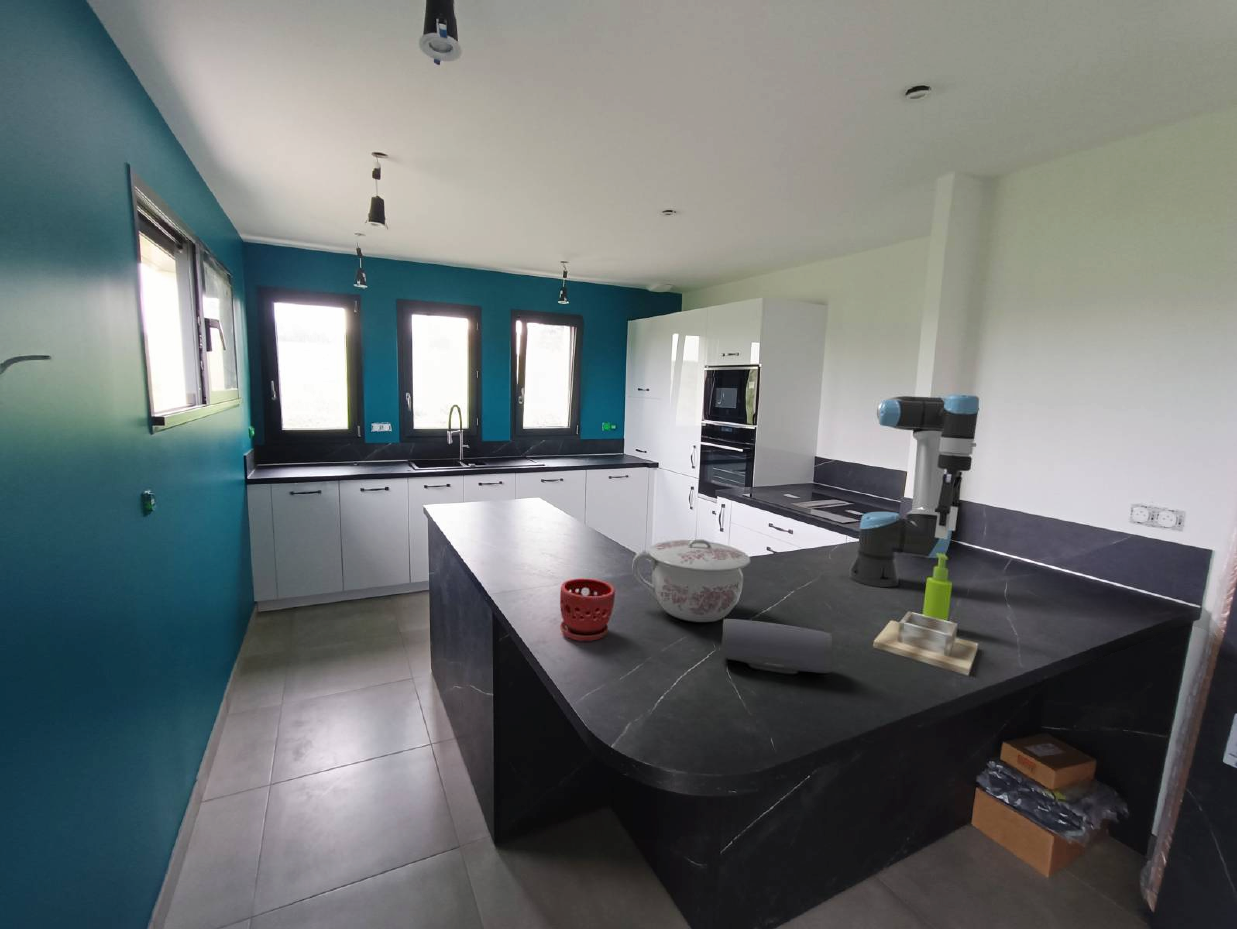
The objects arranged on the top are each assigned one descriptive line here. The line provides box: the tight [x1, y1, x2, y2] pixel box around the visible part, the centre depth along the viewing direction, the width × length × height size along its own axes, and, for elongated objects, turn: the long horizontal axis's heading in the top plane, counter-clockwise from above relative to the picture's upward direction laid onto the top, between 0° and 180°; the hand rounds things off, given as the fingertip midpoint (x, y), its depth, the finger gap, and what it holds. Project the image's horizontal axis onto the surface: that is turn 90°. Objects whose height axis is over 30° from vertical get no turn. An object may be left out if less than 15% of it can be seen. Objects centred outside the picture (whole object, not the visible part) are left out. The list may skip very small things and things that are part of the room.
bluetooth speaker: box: [720, 618, 833, 675], centre depth 122 cm, size 23×9×10 cm, turn 77°
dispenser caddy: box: [872, 611, 979, 676], centre depth 136 cm, size 20×18×6 cm
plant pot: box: [559, 578, 616, 642], centre depth 134 cm, size 13×13×12 cm
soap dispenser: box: [922, 553, 953, 621], centre depth 150 cm, size 6×7×20 cm
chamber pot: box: [631, 538, 751, 623], centre depth 151 cm, size 28×28×21 cm
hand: (945, 533), depth 147 cm, fingers open, 13 cm apart
